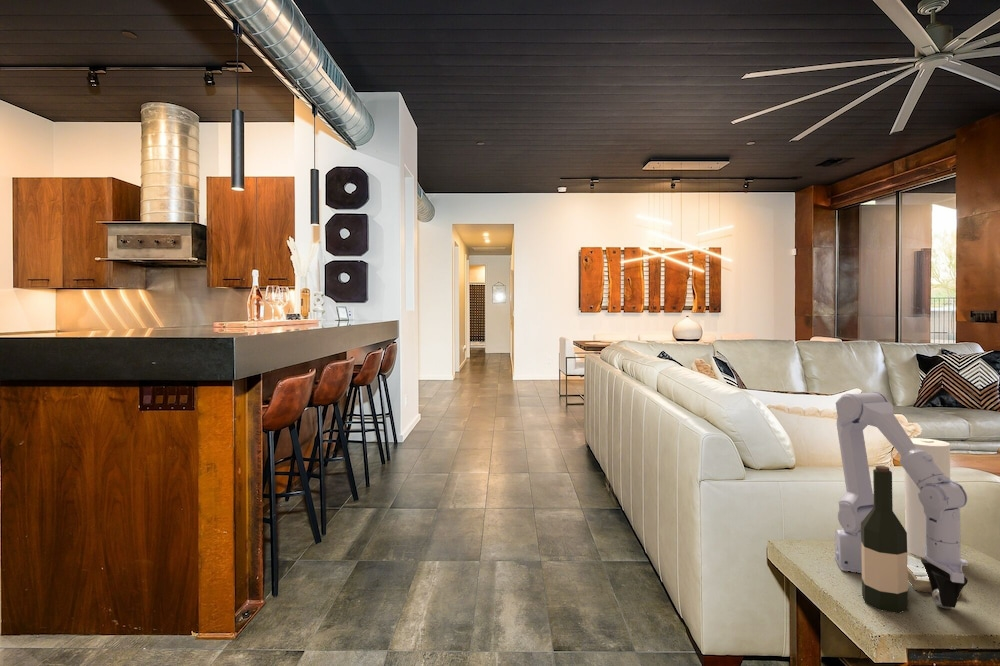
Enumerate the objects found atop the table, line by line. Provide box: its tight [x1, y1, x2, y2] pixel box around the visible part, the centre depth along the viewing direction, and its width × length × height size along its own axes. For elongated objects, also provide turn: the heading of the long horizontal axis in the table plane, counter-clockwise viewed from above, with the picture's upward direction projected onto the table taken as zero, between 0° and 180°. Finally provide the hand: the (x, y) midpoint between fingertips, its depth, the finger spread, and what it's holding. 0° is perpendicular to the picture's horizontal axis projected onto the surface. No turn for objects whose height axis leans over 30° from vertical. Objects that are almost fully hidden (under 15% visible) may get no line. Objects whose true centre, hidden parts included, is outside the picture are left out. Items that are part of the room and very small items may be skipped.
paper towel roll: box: [904, 437, 951, 559], centre depth 140 cm, size 9×9×30 cm
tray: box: [907, 566, 961, 598], centre depth 124 cm, size 8×8×3 cm
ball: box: [931, 588, 953, 609], centre depth 114 cm, size 4×4×4 cm
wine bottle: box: [861, 465, 909, 614], centre depth 117 cm, size 8×8×30 cm
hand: (943, 600), depth 114 cm, fingers closed on ball, 4 cm apart
